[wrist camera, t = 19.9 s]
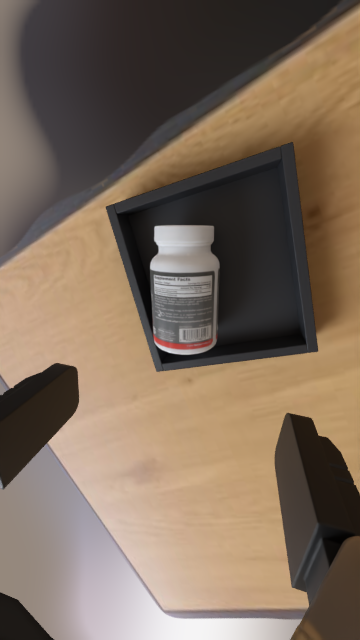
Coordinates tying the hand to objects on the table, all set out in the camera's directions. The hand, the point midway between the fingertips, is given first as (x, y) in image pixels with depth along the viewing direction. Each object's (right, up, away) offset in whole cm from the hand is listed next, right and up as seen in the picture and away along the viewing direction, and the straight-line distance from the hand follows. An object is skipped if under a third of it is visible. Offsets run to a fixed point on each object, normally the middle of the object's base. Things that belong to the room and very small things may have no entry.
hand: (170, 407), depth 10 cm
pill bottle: (+1, +1, +14) cm, 14 cm away
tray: (+4, +8, +14) cm, 17 cm away
